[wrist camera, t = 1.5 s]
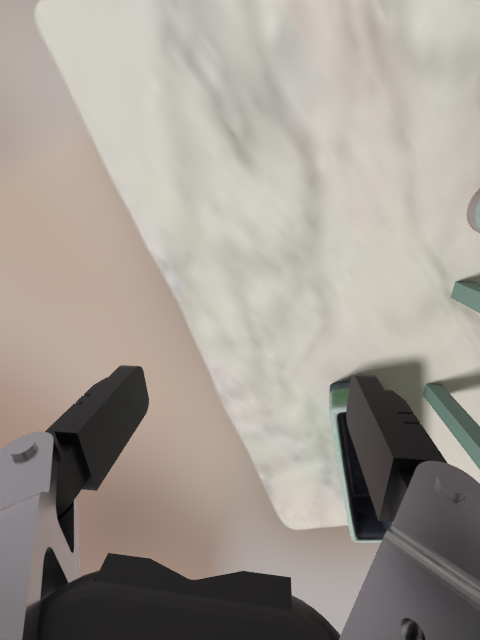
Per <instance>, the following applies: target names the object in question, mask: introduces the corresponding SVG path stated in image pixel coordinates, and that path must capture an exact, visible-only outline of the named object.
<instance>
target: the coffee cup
mask: <svg viewBox="0 0 480 640" xmlns="http://www.w3.org/2000/svg"><path fill="white" fill-rule="evenodd" d="M467 219H468V222H469V224H470V226H471V227H472V228H473V229H474V230H475V231H477V232H479V233H480V189H479V190H478V191H477V192H476V193H475V195H474V196H473V197H472V199H471V201H470V203H469V206H468V210H467Z"/></svg>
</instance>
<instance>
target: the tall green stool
mask: <svg viewBox="0 0 480 640" xmlns="http://www.w3.org/2000/svg"><path fill="white" fill-rule="evenodd" d="M451 298H453V299H455V300H456V301H458V302H460V303H462V304H464V305H466V306H468V307H470V308H471V309H473V310H475V311H477V312H479V313H480V285H479V284H477V283H474V282H455V285H454V288H453V292H452V295H451ZM423 396H424V397H425V398H426V400H427V401H428V402H429V404H430V405H431V406H432V408H433V409H434V410H435V411H436V413H437V414H438V415H439V417H440V418H441V419H442V421H443V422H444V423H445V425H446V426H447V427H448V429H449V430H450V431H451V432H452V434H453V435H454V436H455V438H456V439H457V440H458V442H459V443H460V444H461V446H462V447H463V448H464V449H465V451H466V452H467V453H468V455H469V456H470V457H471V459H472V460H473V461H474V463H475V464H476V465H477V467H478V468H479V469H480V426H479V425H478V424H477V423H476V422H475V421H474V420H473V419H472V418H471V417H470V415H469V414H468V413H467V412H466V411H465V410H464V409H463V408H462V407H461V406H460V404H459V403H458V402H457V401H456V400H455V399H454V398H453V397H452V396H451V395H450V394H449V392H448V391H447V390H446V389H445V388H444V387H443V386H442V385H438V384H426V387H425V390H424V394H423Z"/></svg>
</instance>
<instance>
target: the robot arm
mask: <svg viewBox="0 0 480 640" xmlns="http://www.w3.org/2000/svg"><path fill="white" fill-rule="evenodd" d="M148 405H149V398H148V392H147V387H146V382H145V378H144V372H143V369H142V367H140V366H120V367H118V368H117V369H116V370H115V371H114V372H113V373H112V374H111V375H110V376H109V377H108V378H105V379H103V380H101V381H100V382H98V383H96V384H95V385H93V386H92V387H91V388H90V389H89V390H88V391H87V392H86V393H85V394H84V396H82V397H81V398H80V399H79V400H78V401H77V402H76V404H73V405H72V406H71V407H70V408H69V409H68V410H67V411H66V412H65V413H64V414H63V415H62V416H61V417H60V418H59V419H58V420H57V421H56V422H55V423H54V424H53V425H51V426H50V427H49V428H48V429H47V430H46V431H45V432H36V433H31V434H28V435H25V436H22V437H20V438H18V439H16V440H14V441H13V442H11V443H9V444H8V445H7V446H5V447H4V448H3V449H2V450H1V451H0V640H480V484H479V483H478V482H477V481H476V480H475V479H474V478H472V477H471V476H470V475H468V474H467V473H465V472H464V471H462V470H460V469H458V468H457V467H454V466H452V465H450V464H448V463H447V462H446V460H445V459H444V457H443V456H442V454H441V453H440V451H439V450H438V448H437V447H436V446H435V444H434V443H433V441H432V440H431V438H430V437H429V435H428V434H427V432H426V431H425V429H424V428H423V426H422V425H420V422H419V420H418V419H417V417H416V416H415V415H413V411H412V410H411V408H410V407H409V405H408V404H407V402H406V401H405V400H404V399H402V398H401V397H400V396H398V395H397V394H396V393H395V392H393V391H387V390H384V389H383V387H382V385H381V384H380V382H379V380H378V379H377V377H376V376H371V375H352V376H351V380H350V387H349V394H348V401H347V409H346V419H347V426H348V429H349V432H350V435H351V438H352V441H353V444H354V448H355V451H356V454H357V457H358V460H359V463H360V466H361V469H362V472H363V475H364V478H365V481H366V484H367V487H368V490H369V493H370V496H371V499H372V503H373V506H374V509H375V512H376V515H377V518H378V521H383V522H393V524H392V526H391V528H388V529H387V531H386V533H385V535H384V537H383V539H382V542H381V544H380V546H379V549H378V551H377V553H376V556H375V558H374V560H373V562H372V565H371V567H370V569H369V572H368V574H367V576H366V579H365V581H364V583H363V585H362V588H361V590H360V592H359V595H358V597H357V599H356V601H355V604H354V606H353V608H352V611H351V613H350V615H349V618H348V620H347V622H346V625H345V627H344V629H343V631H342V634H341V636H340V634H339V633H338V632H337V631H336V630H335V629H334V627H333V626H331V624H330V623H329V622H328V621H327V620H326V619H325V618H324V617H323V616H322V615H321V614H319V613H318V612H317V611H316V610H315V609H314V608H312V607H311V606H309V605H307V604H306V603H305V602H303V601H302V600H300V599H298V598H296V597H294V596H292V595H291V578H290V577H283V576H276V575H268V574H261V573H253V572H246V571H241V572H236V573H230V574H225V575H220V576H215V577H209V578H204V579H200V580H190V579H187V578H185V577H184V576H182V575H180V574H178V573H176V572H174V571H172V570H170V569H169V568H167V567H165V566H163V565H161V564H159V563H157V562H155V561H153V560H152V559H149V558H141V557H133V556H126V555H119V554H111V553H108V555H107V557H106V559H105V561H104V563H103V565H102V567H101V569H100V571H96V572H93V573H90V574H87V575H84V576H82V575H81V570H80V563H79V527H78V501H77V499H76V496H77V495H78V494H79V492H80V491H81V489H86V490H95V491H97V489H98V488H99V486H100V485H101V483H102V481H103V480H104V478H105V477H106V475H107V474H108V472H109V470H110V469H111V467H112V466H113V464H114V463H115V461H116V460H117V458H118V456H119V455H120V453H121V452H122V450H123V449H124V447H125V445H126V444H127V442H128V441H129V439H130V438H131V436H132V435H133V433H134V432H135V430H136V428H137V427H138V425H139V424H140V422H141V421H142V419H143V418H144V416H145V414H146V412H147V409H148Z"/></svg>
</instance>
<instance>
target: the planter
mask: <svg viewBox="0 0 480 640" xmlns="http://www.w3.org/2000/svg"><path fill="white" fill-rule="evenodd" d="M349 387H350V381H347V382H340V383H333V384H331V385H330V417H331V423H332V430H333V436H334V442H335V448H336V454H337V460H338V466H339V472H340V478H341V484H342V490H343V496H344V502H345V508H346V513H347V519H348V525H349V530H350V535H351V539H352V541H353V542H358V543H364V542H365V543H366V542H367V543H369V542H372V543H377V542H382V539H383V537H384V535H385V533H386V531H387V529H388V528H391V526H392V524H393V522H383V521H378V518H377V515H376V512H375V509H374V506H373V503H372V499H371V496H370V493H369V490H368V487H367V484H366V481H365V478H364V475H363V472H362V469H361V466H360V463H359V460H358V457H357V454H356V451H355V448H354V444H353V441H352V438H351V435H350V432H349V429H348V426H347V419H346V409H347V401H348V394H349Z"/></svg>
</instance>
